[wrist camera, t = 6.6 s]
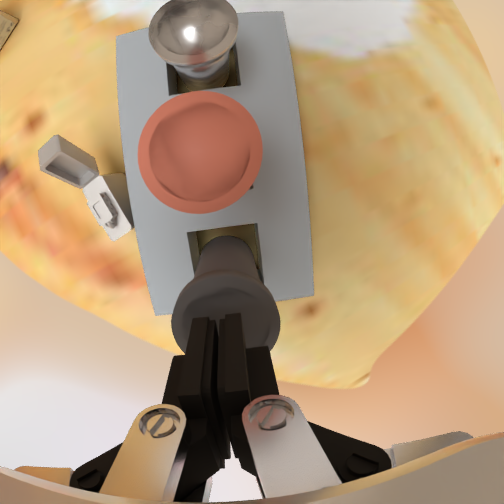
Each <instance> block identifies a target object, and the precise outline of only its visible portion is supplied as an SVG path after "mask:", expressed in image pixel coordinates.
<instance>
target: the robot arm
mask: <svg viewBox="0 0 504 504" xmlns="http://www.w3.org/2000/svg"><path fill="white" fill-rule="evenodd" d="M230 442H231V445H232V448H233V452H234V455H235V458H239V461H240V464H241V468H242V469H244V470H246V471H247V472H249V473H251V474H252V475H254V476H256V480H257V483H258V487H259V490H260V492H261V495H262V499H257V500H247V501H234V502H211V503H210V502H209V497H210V492H211V487H212V477H211V476H212V475H213V474H215V473H216V472H217V471H219V469H221V468H225V459H230V458H231V452H230ZM0 504H504V432H499V433H494V434H488V435H484V436H480V437H475V438H473V437H472V436H471V435H469V434H468V433H465V432H460V431H458V432H451V433H447V434H443V435H439V436H435V437H430V438H426V439H422V440H417V441H412V442H406V443H401V444H395V445H392V448H390V449H384V450H383V449H381V448H379V447H377V446H375V445H372V444H369V443H366V442H362V441H360V440H357V439H354V438H351V437H348V436H345V435H342V434H340V433H337V432H334V431H332V430H329V429H326V428H324V427H321V426H319V425H316V424H314V423H311V422H308V421H307V420H306V418H305V416H304V414H303V413H302V411H301V409H300V407H299V406H298V404H297V403H296V402H295V401H294V400H292V399H290V398H288V397H285V396H282V395H279V391H278V386H277V382H276V378H275V373H274V369H273V364H272V360H271V355H270V351H269V347H268V345H267V346H260V347H253V348H246V342H245V336H244V329H243V323H242V316H241V312H240V313H232V314H225V319H220V320H219V335H218V330H217V325H216V321H215V320H210V319H209V316H208V317H199V318H193V319H192V323H191V328H190V333H189V338H188V342H187V347H186V352H185V355H178V356H174V357H173V359H172V363H171V367H170V371H169V375H168V380H167V384H166V388H165V392H164V396H163V401H162V404H158V405H154V406H151V407H149V408H146V409H145V410H143V411H142V412H141V413H139V414H138V416H137V417H136V419H135V420H134V422H133V424H132V426H131V428H130V430H129V432H128V434H127V436H126V439H125V440H124V442H123V443H121V444H119V445H118V446H116V447H114V448H112V449H111V450H109V451H107V452H105V453H103V454H102V455H100V456H98V457H96V458H95V459H93V460H91V461H89V462H87V463H85V464H83V465H82V466H80V467H79V468H77V469H76V470H75V471H73V470H72V469H71V468H49V467H31V466H22V467H18V468H16V469H15V470H12V469H8V468H4V467H0Z"/></svg>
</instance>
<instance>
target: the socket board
mask: <svg viewBox="0 0 504 504" xmlns="http://www.w3.org/2000/svg"><path fill="white" fill-rule="evenodd" d="M236 14H237V17H238V34H237V38H236V41H235V43H234V45H233V54H234V62H235V70H236V78H237V86H231V87H223V88H215V89H208V90H201V91H211V92H217V93H220V94H224V95H226V96H228V97H230V98H232V99H234V100H236V101H237V102H239V103H240V104H241V105H242V106H243V107H245V108H246V110H247V111H248V112H249V113H250V114H251V116H252V117H253V118H254V120H255V122H256V124H257V126H258V128H259V131H260V134H261V139H262V146H263V154H262V162H261V167H260V170H259V172H258V175H257V177H256V179H255V181H254V183H253V184H252V186H251V187H250V188H249V190H248V191H247V192H246V193H245V194H244V195H243V196H242V197H241V198H240V199H239V200H237V201H236V202H234V203H233V204H231V205H230V206H228V207H226V208H224V209H221V210H218V211H215V212H211V213H205V214H190V213H185V212H181V211H178V210H175V209H173V208H171V207H168V206H167V205H165V204H164V203H162V202H161V201H160V200H158V199H157V198H156V197H155V196H154V195H153V194H152V193H151V192H150V190H149V189H148V187H147V186H146V184H145V182H144V180H143V178H142V176H141V173H140V170H139V165H138V155H137V154H138V144H139V139H140V136H141V133H142V130H143V128H144V126H145V124H146V122H147V121H148V119H149V118H150V116H151V115H152V114H153V113H154V112H155V111H156V110H157V109H158V108H159V107H160V106H161V105H162V104H164V103H165V102H167V101H168V100H170V99H172V98H174V97H176V96H178V95H181V94H178V89H177V78H176V69H175V68H174V66H173V65H170V64H168V63H166V62H165V61H164V60H162V59H161V58H160V57H159V56H158V55H157V53H156V52H155V50H154V49H153V47H152V46H151V44H150V41H149V35H148V32H149V27H148V28H144V29H140V30H137V31H133V32H129V33H126V34H122V35H119V36H116V64H117V89H118V105H119V118H120V129H121V139H122V148H123V156H124V164H125V171H126V178H127V185H128V192H129V198H130V204H131V210H132V215H133V221H134V226H135V231H136V236H137V241H138V246H139V251H140V255H141V260H142V264H143V269H144V273H145V277H146V281H147V285H148V289H149V293H150V297H151V301H152V305H153V308H154V312H155V316H158V315H168V314H172V313H173V310H174V307H175V304H176V301H177V299H178V296H179V294H180V293H181V291H182V290H183V288H184V287H185V286H186V285H187V284H188V283H189V282H190V281H191V280H193V278H194V275H195V272H196V268H197V265H198V262H199V258H200V254H199V248H198V242H197V236H196V231H200V230H207V229H215V228H222V227H230V226H237V225H245V224H253V223H254V229H255V237H256V246H257V255H258V264H259V269H257V273H258V276H259V280H260V281H261V282H262V283H263V284H264V285H265V286H266V287H267V288H268V289H269V291H270V292H271V294H272V296H273V298H274V300H275V301H282V300H289V299H295V298H302V297H308V296H314V282H313V261H312V243H311V228H310V214H309V201H308V189H307V178H306V168H305V158H304V149H303V140H302V131H301V123H300V115H299V107H298V100H297V92H296V85H295V79H294V72H293V66H292V59H291V53H290V47H289V41H288V36H287V30H286V25H285V19H284V14H283V12H249V13H236ZM183 94H184V93H183Z"/></svg>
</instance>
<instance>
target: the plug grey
mask: <svg viewBox="0 0 504 504" xmlns="http://www.w3.org/2000/svg"><path fill="white" fill-rule="evenodd" d="M237 34H238V17H237V14H236V11H235V10H234V8H233V7H232V6H231V5H230V4H229V3H228V2H227V1H226V0H171V1H169V2H167V3H166V4H165V5H163V6H162V7H161V8H160V9H159V10H158V11H157V12H156V14H155V15H154V16H153V18H152V20H151V23H150V26H149V32H148V35H149V41H150V44H151V46H152V47H153V49H154V50H155V52H156V53H157V55H158V56H159V57H160V58H161V59H162V60H164V61H165V62H166V63H168V64H170V65H173V66H174V68H175V69H176V71H177V73H178V75H179V76H180V78H181V80H182V81H183V83H184V85H185V86H186V87H187V88H188V89H189V90H190V91H201V90H208V89H215V88H222V87H223V86H224V84H225V83H226V81H227V80H228V77H229V51H230V49H231V48H232V47H233V45H234V43H235V41H236V38H237Z"/></svg>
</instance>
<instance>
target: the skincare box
mask: <svg viewBox="0 0 504 504" xmlns="http://www.w3.org/2000/svg"><path fill="white" fill-rule="evenodd" d="M18 21H19V20H18V19H17V18H15V17H13V16H11V15H9V14H7V13H5V12H3V11H1V10H0V49H1V47H2V46H3V44H4V43H5V41H6V39H7V38H8V36H9V35H10V33H11V31H12V30H13V28H14V27H15V25H16V24H17V22H18Z"/></svg>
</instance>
